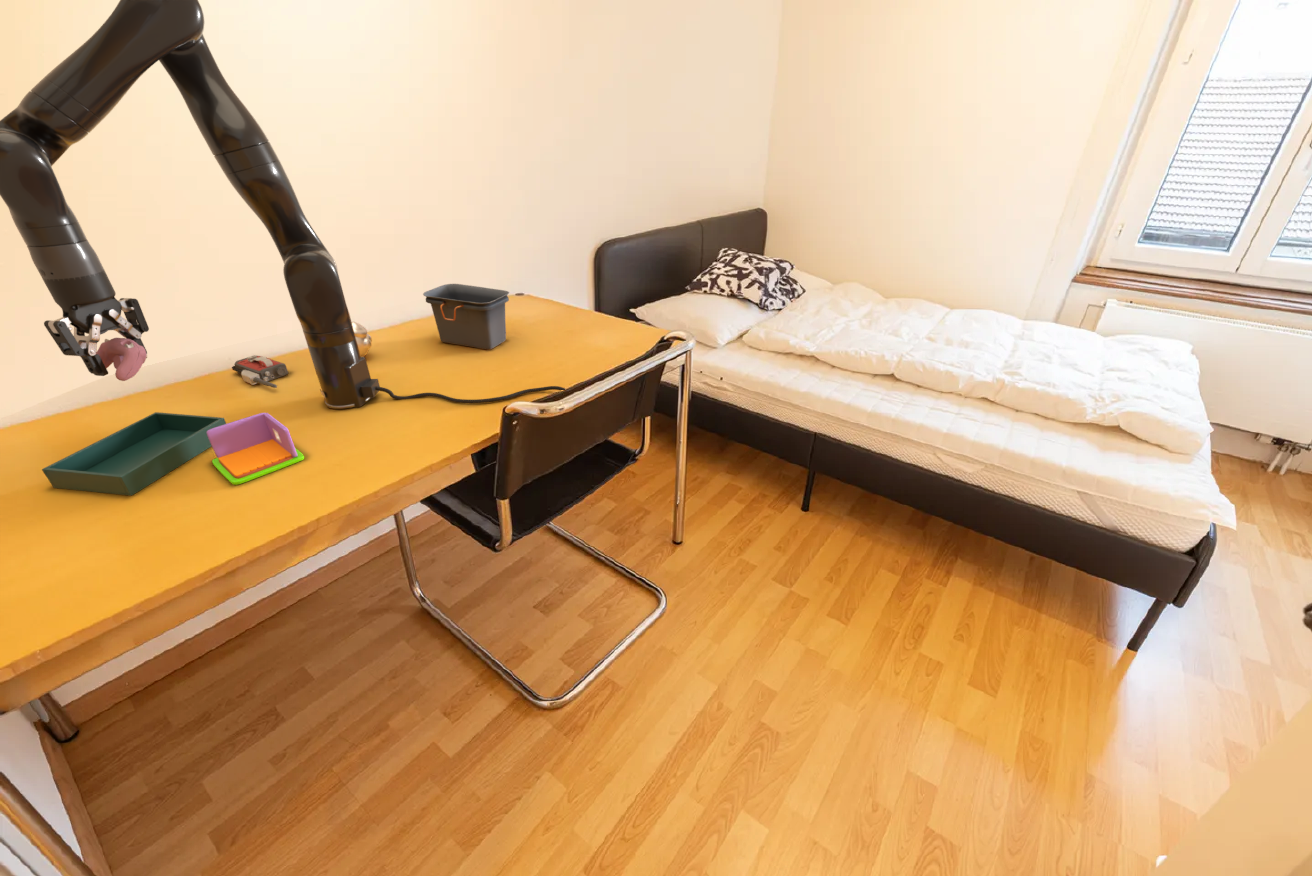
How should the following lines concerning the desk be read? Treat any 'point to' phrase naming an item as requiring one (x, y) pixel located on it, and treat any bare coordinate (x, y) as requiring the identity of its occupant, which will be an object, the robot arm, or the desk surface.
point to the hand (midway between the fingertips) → (122, 366)
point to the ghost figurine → (362, 338)
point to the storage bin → (469, 314)
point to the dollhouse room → (252, 448)
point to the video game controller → (122, 356)
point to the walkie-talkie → (260, 370)
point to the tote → (134, 454)
